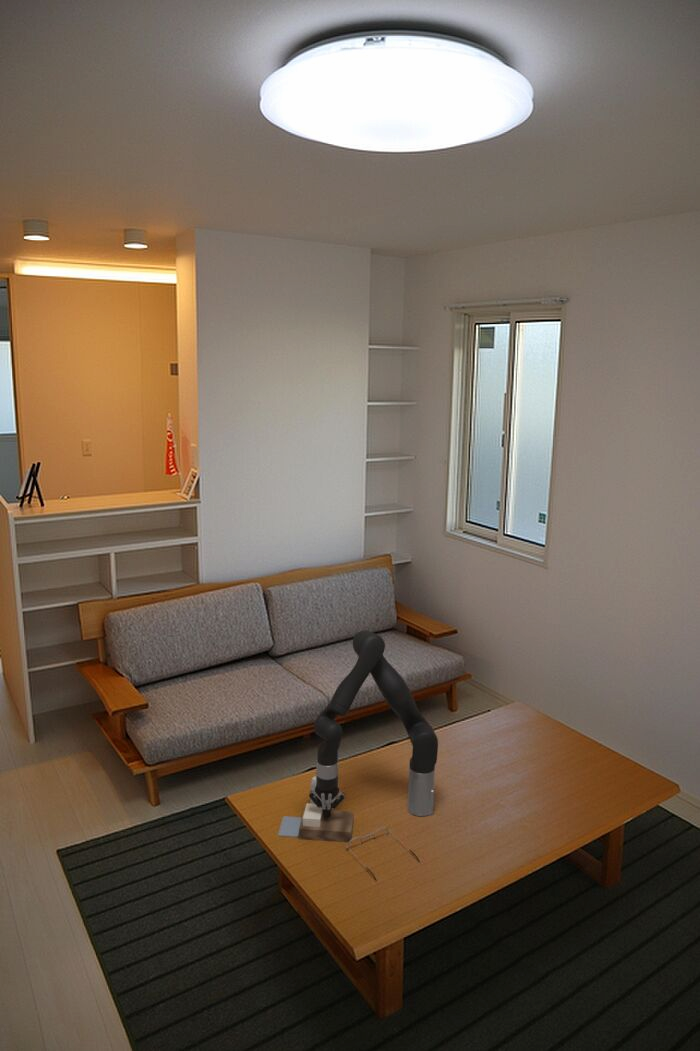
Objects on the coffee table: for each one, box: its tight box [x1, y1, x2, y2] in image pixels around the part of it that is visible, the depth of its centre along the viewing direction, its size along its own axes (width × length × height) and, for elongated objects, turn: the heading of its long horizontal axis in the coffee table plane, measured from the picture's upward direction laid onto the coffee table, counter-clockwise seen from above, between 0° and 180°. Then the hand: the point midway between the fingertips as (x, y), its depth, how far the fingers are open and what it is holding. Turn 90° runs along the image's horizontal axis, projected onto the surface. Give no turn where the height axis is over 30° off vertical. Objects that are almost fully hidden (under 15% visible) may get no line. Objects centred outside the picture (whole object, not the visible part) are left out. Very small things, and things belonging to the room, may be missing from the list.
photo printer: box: [309, 775, 337, 806], centre depth 281 cm, size 10×4×12 cm, turn 123°
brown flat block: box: [298, 808, 355, 843], centre depth 266 cm, size 18×12×4 cm, turn 86°
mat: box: [277, 815, 302, 838], centre depth 268 cm, size 7×11×1 cm, turn 176°
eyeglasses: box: [345, 826, 421, 882], centre depth 253 cm, size 18×19×4 cm
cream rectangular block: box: [303, 802, 323, 827], centre depth 266 cm, size 6×9×3 cm, turn 175°
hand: (326, 817), depth 265 cm, fingers closed
